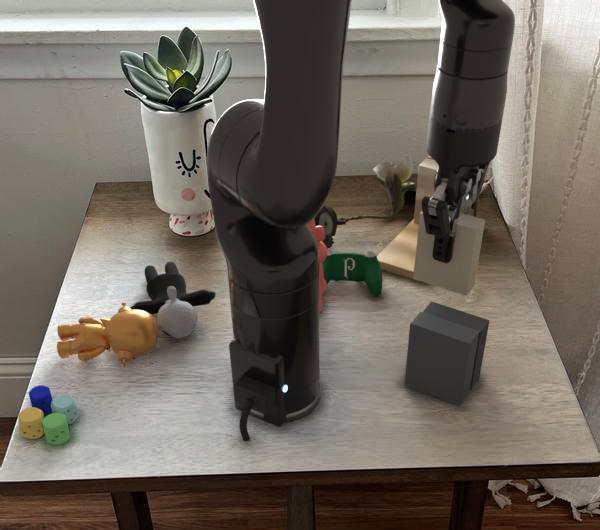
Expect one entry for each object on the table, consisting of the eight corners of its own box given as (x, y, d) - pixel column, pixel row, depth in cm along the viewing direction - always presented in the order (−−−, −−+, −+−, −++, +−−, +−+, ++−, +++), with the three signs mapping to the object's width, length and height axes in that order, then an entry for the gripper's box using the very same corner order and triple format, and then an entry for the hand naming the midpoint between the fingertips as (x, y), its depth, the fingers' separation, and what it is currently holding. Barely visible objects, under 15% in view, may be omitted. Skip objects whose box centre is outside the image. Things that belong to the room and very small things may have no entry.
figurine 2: (121, 292, 110) (138, 355, 99) (113, 253, 106) (130, 315, 95) (202, 277, 112) (228, 337, 101) (197, 239, 109) (223, 297, 98)
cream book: (466, 296, 97) (476, 229, 91) (412, 278, 100) (419, 213, 94) (474, 286, 99) (485, 219, 93) (421, 269, 102) (429, 203, 96)
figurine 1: (65, 381, 100) (164, 373, 99) (49, 363, 94) (153, 354, 94) (67, 318, 102) (163, 309, 102) (51, 296, 97) (152, 288, 96)
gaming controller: (381, 299, 110) (383, 255, 110) (381, 294, 106) (384, 248, 107) (312, 296, 111) (315, 253, 111) (310, 291, 107) (313, 246, 107)
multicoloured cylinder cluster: (57, 393, 95) (5, 418, 92) (52, 376, 93) (-1, 401, 90) (92, 431, 90) (38, 459, 87) (88, 414, 88) (33, 442, 85)
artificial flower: (294, 242, 120) (288, 172, 116) (410, 211, 131) (408, 146, 127) (331, 253, 113) (326, 179, 109) (449, 219, 124) (449, 152, 120)
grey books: (460, 406, 92) (470, 343, 86) (404, 385, 95) (409, 323, 89) (479, 378, 95) (490, 316, 89) (424, 358, 98) (431, 297, 92)
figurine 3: (304, 324, 104) (303, 219, 93) (279, 305, 107) (275, 202, 96) (335, 308, 106) (337, 204, 96) (309, 290, 109) (308, 188, 99)
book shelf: (426, 283, 110) (433, 216, 103) (373, 266, 113) (376, 200, 106) (476, 225, 120) (486, 160, 113) (426, 211, 123) (433, 147, 116)
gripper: (460, 81, 91) (442, 219, 103) (403, 127, 82) (391, 273, 94) (525, 95, 88) (499, 236, 100) (473, 144, 79) (452, 292, 91)
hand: (447, 253), depth 97 cm, fingers closed on cream book, 2 cm apart
